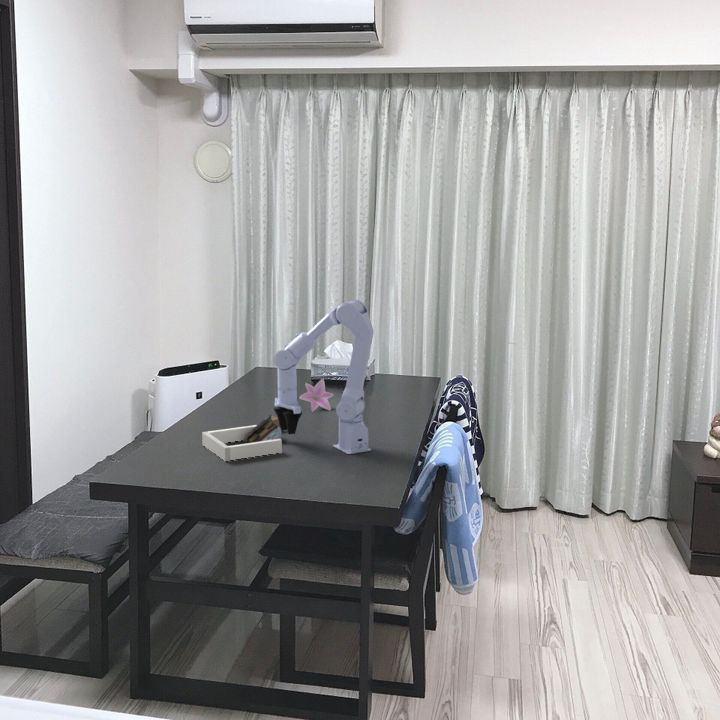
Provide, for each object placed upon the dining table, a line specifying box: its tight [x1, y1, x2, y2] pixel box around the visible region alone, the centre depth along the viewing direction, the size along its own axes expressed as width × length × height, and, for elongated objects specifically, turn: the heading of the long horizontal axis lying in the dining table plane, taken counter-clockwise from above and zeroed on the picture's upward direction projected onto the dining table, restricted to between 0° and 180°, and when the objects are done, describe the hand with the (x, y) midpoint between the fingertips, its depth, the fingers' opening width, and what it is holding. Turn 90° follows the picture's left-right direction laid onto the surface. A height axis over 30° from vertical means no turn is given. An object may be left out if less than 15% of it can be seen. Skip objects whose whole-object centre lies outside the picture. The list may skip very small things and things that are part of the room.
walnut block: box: [263, 415, 280, 427], centre depth 272 cm, size 4×4×4 cm
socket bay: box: [201, 424, 283, 462], centre depth 251 cm, size 19×18×4 cm
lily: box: [298, 378, 335, 413], centre depth 300 cm, size 12×12×10 cm
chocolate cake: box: [242, 414, 283, 443], centre depth 259 cm, size 10×7×12 cm
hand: (288, 431), depth 258 cm, fingers open, 5 cm apart
